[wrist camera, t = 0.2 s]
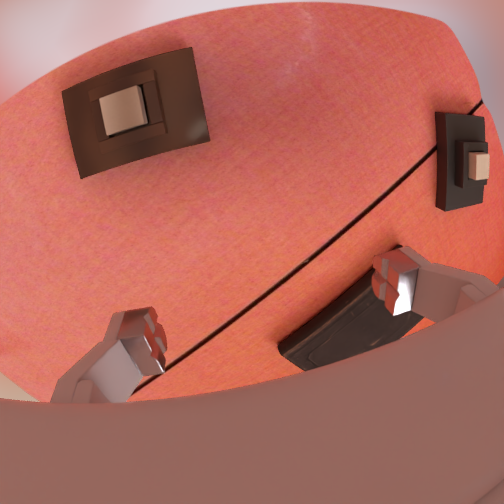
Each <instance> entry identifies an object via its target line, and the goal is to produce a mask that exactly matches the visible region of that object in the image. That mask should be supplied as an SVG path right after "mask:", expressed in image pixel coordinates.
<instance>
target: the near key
mask: <svg viewBox="0 0 504 504" xmlns="http://www.w3.org/2000/svg"><path fill="white" fill-rule="evenodd" d="M99 100H100V106H101V111H102V116H103V121H104V125H105V130H106V134H107V135H113V134H116V133H119V132H122V131H125V130H128V129H131V128H134V127H137V126H140V125H144V124H147V123H148V120H147V116H146V111H145V106H144V101H143V96H142V91H141V88H140V87H139V86H137V85H136V86H133V87H130V88H127V89H124V90H121V91H118V92H115V93H113V94H110V95H107V96H105V97H102V98H100V99H99Z"/></svg>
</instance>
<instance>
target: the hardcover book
mask: <svg viewBox="0 0 504 504" xmlns="http://www.w3.org/2000/svg"><path fill="white" fill-rule="evenodd" d="M401 247H403V246H401V245H398V246H397V247H396V248H395V249H394V250H396V249H398V248H401ZM374 272H375V269H374V268H373V269H372V270H371V271H369V272H368V273H367V274H366V275H365V276H364V277H363V278H361V279H360V280H359V281H358V282H357V283H356V284H355V285H353V286H352V287H351V288H350V289H349V290H347V291H346V292H345V293H344V294H343V295H342V296H340V297H339V298H338V299H337V300H335V301H334V302H333V303H332V304H331V305H329V306H328V307H327V308H326V309H324V310H323V311H322V312H321V313H319V314H318V315H317V316H316V317H314V318H313V319H312V320H311V321H309V322H308V323H307V324H305V325H304V326H303V327H302V328H300V329H299V330H298V331H296V332H295V333H294V334H292V335H291V336H290V337H288V338H287V339H286V340H284V341H283V342H282V343H280V344H279V345H278V350H279V352H280V354H281V355H282V356H283V357H285V358H286V359H287V360H289V361H290V362H292V363H293V364H295V365H296V366H298V367H299V368H301V369H302V370H304V371H308V370H312V369H315V368H319V367H322V366H325V365H329V364H332V363H335V362H338V361H341V360H344V359H347V358H350V357H353V356H356V355H359V354H362V353H365V352H367V351H370V350H373V349H376V348H378V347H381V346H383V345H386V344H389V343H391V342H394V341H396V340H399V339H400V338H401V337H403V336H404V335H405V334H406V333H407V332H408V331H409V330H411V329H412V328H413V327H414V326H415V325H416V324H417V323H418V322H420V321H421V320H422V319H423V318H424V316H422V315H419V314H417V313H415V312H413V311H411V310H409V311H406V312H403V313H400V314H398V315H395V316H393V315H392V314H391V313H390V312H389V310H388V309H387V308H386V307H385V301H383V300H380V299H378V297H377V296H376V295H375V293H374V291H373V287H372V275H373V273H374Z"/></svg>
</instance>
